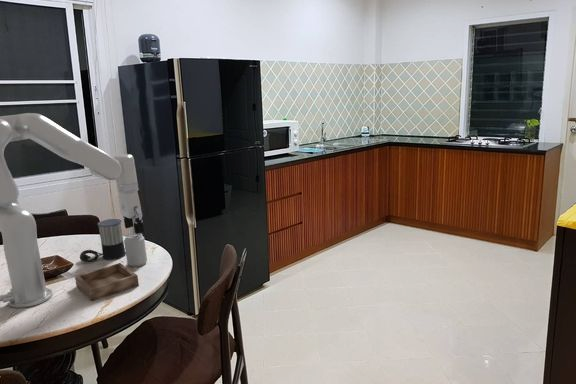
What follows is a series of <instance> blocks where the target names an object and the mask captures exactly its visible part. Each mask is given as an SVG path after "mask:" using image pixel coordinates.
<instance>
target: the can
mask: <svg viewBox="0 0 576 384" xmlns="http://www.w3.org/2000/svg"><path fill="white" fill-rule="evenodd" d="M124 237H125V238H124V239H123V242H124V248H125V252H126V255H125V256H126V264H127V266H128V265H129V266H130V267H133V268H134V267H135V268H136V267H142V266H143V265H145V264H146V263H147V261H148V255H147V248H146V241H145V237H144V236H143V234H142V233H138V234H136V233H135V232H133V233H129V234H126V235H125V236H124ZM141 265H142V266H141Z"/></svg>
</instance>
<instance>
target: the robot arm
mask: <svg viewBox="0 0 576 384" xmlns="http://www.w3.org/2000/svg"><path fill="white" fill-rule="evenodd" d="M29 139H30V140H31V141H33V142H35V143H37V144H38V145H40V146H42V147H44V148H46V149H47V150H49V151H50V152H52V153H54V154H56V155H57V156H59V157H61V158H63V159H65V160H66V161H70V162H72V163H76V164H79V165H81V166H84V167H85V168H86V169H89V170H88V171H89V173H90V174H91V175H92V176H93V177H95V178H99V179H102V180H107V181H115V184H116V190H117V193H118V203H119V213H120V215H121V216H122V219H123V221H124V228H125V229H129V228H130V229H131V228H133V227H134V233H136V234H138V233H141V234H142V233H144V231H145V230H144V222H143V221H144V220H143V218H144V217H143V212H142V206H141V201H140V197H139V193H138V191H139V190H140V189H139V183H138V177H137V170H136V164H135V158H134V156H133V155H132V154H130V153H129V154H127V153H126V154H124V153H123V154H117V155H115V156H111V155H109V154H108V153H107V152H104V151H103V150H101V149H99V148H98V147H96V146H94V145H92V144H91V143H89V142H87V141H86V140H84V139H82V138H80V137H78V136H76V135H75V134H73V133H72V132H70V131H69V130H67V129H65V128H63V127H62V126H60V125H59V124H57V123H56V122H54V121H53V120H51V119H49V118H48V117H46V116H44V115H42V114H41V113H34V112H26V113H18V114H11V115H2V116H0V233H1V236H2V245H3V246H2V247H3V252H4V253H3V254H4V256H5V260H6V264H7V269H8V275H9V280H10V285H11V288H10V289H9V291H8V292H7V293H5V294H0V302H2V303H3V304H4V303H7V302H8V304H9V306H10V307H12V308H16V309H17V308H18V309H20V308H21V309H22V308H29V307H33V306H37V305H39V304H42V303H44V302H46V301H47V300H49V299H51V298H52V296H53V290H52V289H51V288H49V287H47V286H46V285H47V284H46V279H45V275H44V270H43V264H42V259H41V254H40V249H39V248H40V247H39V243H38V235H37V234H38V233H37V224H36V223H37V221H36V220H35V217H34V216H33V214H32V213H31V212H30V211H28V210H27V209H26V208H23V207H21V205H20V203H19V199H18V198H19V195H20V194H19V188H18V186H17V184H16V181H15V179H14V178H13V175H12V173H11V170H9V168H8V165H7V162H6V159H5V155H4V152H5V150H6V149H5V148H6V146H7V145H8V144H9V143H10V142H11V143H12V142H15V141H17V142H18V141H22V140H29Z"/></svg>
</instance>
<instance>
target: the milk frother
mask: <svg viewBox="0 0 576 384" xmlns="http://www.w3.org/2000/svg"><path fill="white" fill-rule="evenodd" d="M97 226H98V230H99V238H100V244H101V251H102V253H100V252H98V251H96V250H92V249H85V250H84V251H83V250H82V252H81V253H80V255H79V259H80V261H81V262H84V263H93V262H96V261H97V260H99V255H102V256H101V257H102V259H103V260H107V261H110V260H111V261H112V260H117V259H120V258H123V257H125V256H126V251H125V244H124V234H123V227H122V219H119V218H110V219H105V220H101V221H99V222H97ZM88 254H92V255H93V256H95V257H93V258H91V255H88Z"/></svg>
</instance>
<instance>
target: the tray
mask: <svg viewBox="0 0 576 384" xmlns="http://www.w3.org/2000/svg"><path fill="white" fill-rule="evenodd" d="M74 279H75V285H76V286H75V287H76V288H77V289H78V290H79V291H80V292H81V293H83V295H84V296H86V298H88V299H89V301H91V302H95V301H98V300H100V299H104V298H106V297H109V296H112V295H115V294H118V293H121V292H125V291H127V290H130V289H134V288H136V287H139V286H140V283H139V277H138V274H136V273H135V272H133V271H132V270H131V269H129V268H128V267H126V266H125V265H124V264H122V263H121V262H119V263H114V264H112V265H111V264H110V265H107V266H105V267H104V266H103V267H102V268H98V269H94V270H91V271H87V272H85V273H80V274H78V275H75V276H74Z"/></svg>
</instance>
